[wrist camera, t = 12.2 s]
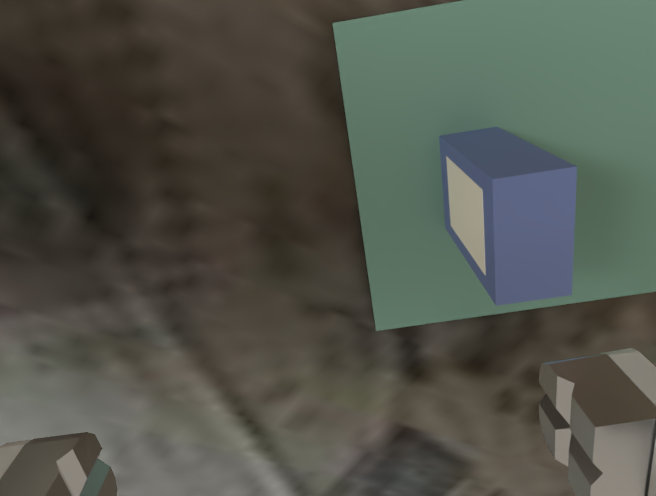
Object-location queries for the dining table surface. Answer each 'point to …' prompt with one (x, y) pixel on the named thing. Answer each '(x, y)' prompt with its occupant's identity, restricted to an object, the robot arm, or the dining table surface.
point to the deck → (510, 213)
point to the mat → (512, 116)
